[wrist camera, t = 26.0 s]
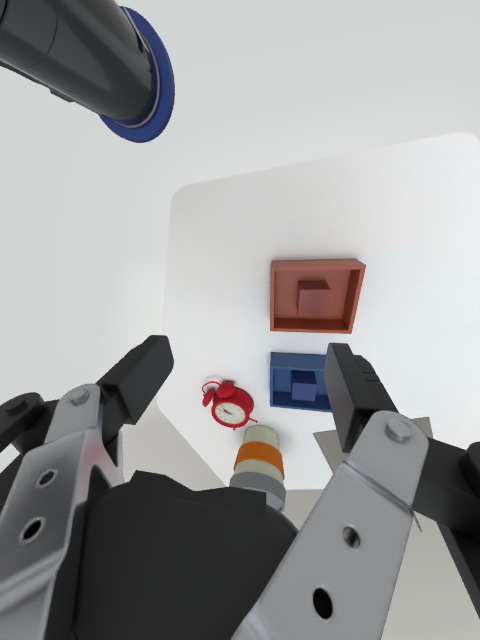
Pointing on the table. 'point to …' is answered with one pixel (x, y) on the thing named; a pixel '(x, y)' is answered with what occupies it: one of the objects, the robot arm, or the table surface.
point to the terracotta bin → (336, 272)
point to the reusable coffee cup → (261, 466)
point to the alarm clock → (229, 405)
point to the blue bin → (282, 381)
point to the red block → (313, 298)
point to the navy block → (303, 385)
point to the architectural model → (335, 456)
